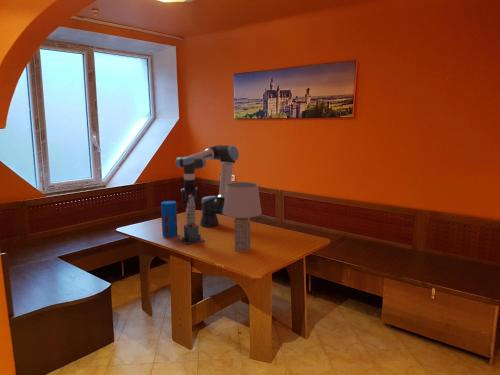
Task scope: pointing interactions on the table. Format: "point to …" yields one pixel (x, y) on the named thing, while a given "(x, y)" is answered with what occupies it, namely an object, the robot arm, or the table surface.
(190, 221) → the column
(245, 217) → the lamp
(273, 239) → the table surface
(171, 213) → the thermos
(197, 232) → the stand base
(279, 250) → the table surface
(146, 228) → the table surface
